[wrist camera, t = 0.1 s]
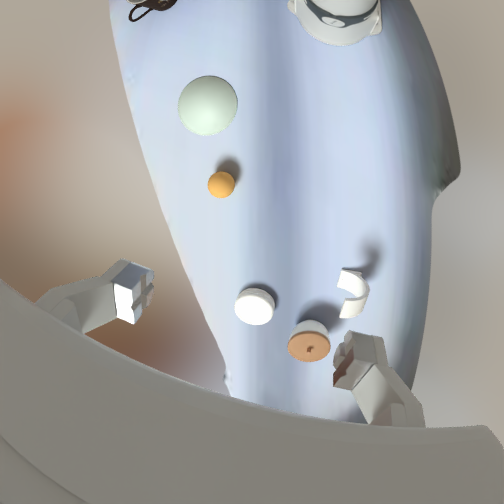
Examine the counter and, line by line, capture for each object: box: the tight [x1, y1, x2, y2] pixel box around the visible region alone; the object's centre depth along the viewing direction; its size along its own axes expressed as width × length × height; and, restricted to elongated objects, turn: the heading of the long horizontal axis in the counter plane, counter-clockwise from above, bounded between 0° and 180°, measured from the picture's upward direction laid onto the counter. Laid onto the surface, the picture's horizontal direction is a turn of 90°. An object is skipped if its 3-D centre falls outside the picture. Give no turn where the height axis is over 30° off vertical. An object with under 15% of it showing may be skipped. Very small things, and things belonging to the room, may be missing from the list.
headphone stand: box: [337, 269, 370, 318], centre depth 58 cm, size 5×6×12 cm
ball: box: [208, 172, 235, 198], centre depth 56 cm, size 6×6×6 cm
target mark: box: [178, 76, 237, 135], centre depth 51 cm, size 13×13×1 cm
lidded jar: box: [288, 320, 330, 362], centre depth 68 cm, size 11×11×9 cm
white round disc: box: [234, 288, 275, 325], centre depth 70 cm, size 10×10×4 cm
